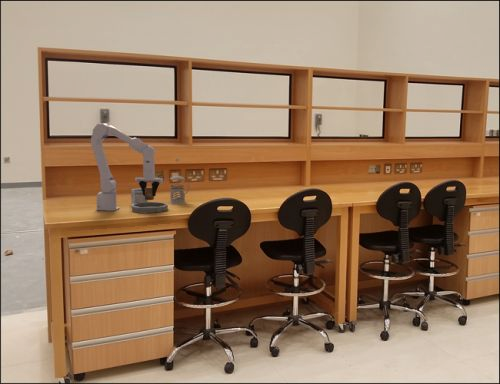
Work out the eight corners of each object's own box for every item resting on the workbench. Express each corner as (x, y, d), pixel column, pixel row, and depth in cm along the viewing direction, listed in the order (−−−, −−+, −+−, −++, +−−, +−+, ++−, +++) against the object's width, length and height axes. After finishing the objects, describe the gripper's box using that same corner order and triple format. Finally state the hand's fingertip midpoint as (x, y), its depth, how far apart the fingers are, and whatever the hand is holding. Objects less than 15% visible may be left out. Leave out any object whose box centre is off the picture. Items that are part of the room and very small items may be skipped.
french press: (167, 201, 280) (167, 157, 276) (188, 200, 283) (187, 157, 279) (169, 204, 270) (169, 159, 267) (190, 203, 273) (190, 159, 270)
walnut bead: (143, 199, 251) (143, 188, 250) (147, 198, 255) (147, 186, 254) (151, 200, 250) (151, 188, 249) (155, 198, 254) (155, 187, 253)
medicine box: (134, 205, 265) (134, 189, 264) (131, 204, 269) (130, 188, 268) (147, 204, 270) (147, 188, 269) (144, 203, 274) (144, 187, 272)
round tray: (125, 211, 247) (125, 206, 246) (140, 205, 264) (140, 201, 264) (159, 213, 243) (159, 208, 243) (172, 207, 260) (172, 202, 260)
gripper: (132, 170, 248) (133, 196, 250) (159, 170, 245) (159, 197, 247) (138, 168, 255) (138, 194, 257) (164, 169, 252) (164, 195, 254)
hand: (149, 195), depth 252 cm, fingers closed on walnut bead, 4 cm apart
